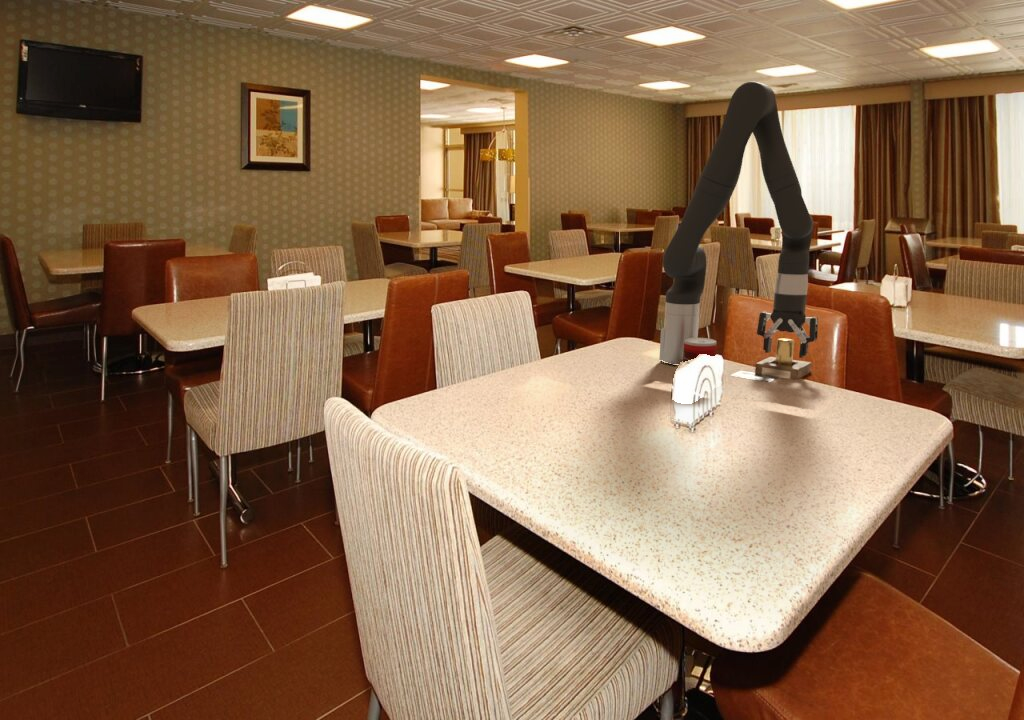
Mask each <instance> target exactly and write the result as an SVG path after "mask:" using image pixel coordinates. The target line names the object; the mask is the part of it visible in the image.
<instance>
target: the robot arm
mask: <svg viewBox="0 0 1024 720" xmlns="http://www.w3.org/2000/svg"><path fill="white" fill-rule="evenodd" d="M777 105H778V104H777V100H776V95H775V91H774V90H773V89H772V88H771V87H770V85H767V84H765V83H762V82H758V81H753V80H752V81H747V82H744V83H742V84H741V85H739V86H738V87H737V88H736V90H735V91H734V92H733V94H732V96H731V97H730V100H729V103H728V106H727V110H726V113H725V115H724V119H723V122H722V126H721V128H720V132H719V134H718V137H717V138H716V140H715V143H714V145H713V147H712V149H711V152H710V154H709V156H708V158H707V161H706V162H705V165H704V168H703V170H702V171H701V174H700V176H699V178H698V180H697V183H696V185H695V188H694V191H693V193H692V195H691V198H690V201H689V203H688V205H687V207H686V210H685V212H684V214H683V217H682V220H681V222H680V224H679V225H678V228H677V229H676V231H675V233H674V235H673V237H672V239H671V240H670V242H669V243H668V246H667V248H666V249H665V252H664V254H663V258H662V268H663V270H664V273H665V274H666V275H667V276H668V277H670V278H671V279H672V278H673V283H672V285H671V287H669V289H668V290H667V291H666V294H665V305H664V308H665V309H664V325H663V326H664V327H663V328H662V327H661V329H660V344H659V359H658V360H663V361H665V362H668V363H671V364H680V362H682V361H683V349H684V340H685V339H688V338H699V337H698V336H699V321H700V320H699V319H700V305H701V297H702V294H703V292H704V288H705V279H706V273H707V254H706V252H705V250H704V249H703V247H702V246H701V245H700V244H701V242H702V239H703V237H704V235H705V234H706V232H707V230H708V229H709V228H710V227H711V226H712V224H713V223H714V222H715V221H716V220H717V219H718V217H719V216H720V215H721V214H722V212H723V211H724V210H725V208H726V207H727V206H728V203H729V202H730V199H731V198H732V195H733V193H734V191H735V189H736V187H737V183H738V182H739V180H740V175H741V172H742V171H741V169H742V165H743V160H744V154H745V150H746V147H747V144H748V142H749V140H750V138H751V136H752V134H753V136H754V138H755V142H756V144H757V148H758V151H759V152H758V153H759V157H760V164H761V171H762V175H763V179H764V182H765V185H766V187H767V191H768V193H769V196H770V198H771V200H772V202H773V205H774V209H775V214H776V216H777V220H778V225H779V226H780V227H779V228H780V229H781V232H782V239H781V240H782V241H781V250H780V253H779V257H778V263H777V264H778V265H777V274H776V277H775V280H776V281H775V284H774V296H773V297H774V298H773V308H772V312H771V313H769V312H767V311H762V312H760V313H759V317H758V323H757V329H756V331H757V332H756V334H757V335H758V336H761V337H762V338H763V347H762V348H763V351H764V353H766V354H770V353H771V350H772V341H773V338H772V337H773V335H774V334H775V333H777V331H779V332H788V333H795V335H796V336H797V337H798V338H799V340H800V341H801V343H800V345H799V353H798V354H799V355H798V357H799V359H800V358H802V359H803V358H805V356H807V355H808V350H809V344H810V343H813V342H816V341H817V340H818V335H819V333H818V332H819V318H818V317H817V316H813V317H810V316H806V307H807V297H808V290H809V288H808V287H809V276H808V275H809V268H810V267H809V266H810V249H811V243H812V239H813V238H812V237H813V231H814V219H813V217H812V214H810V212H809V210H808V207H807V205H806V203H805V200H804V197H803V195H802V187H801V185H800V181H799V178H798V176H797V172H796V170H795V167H794V165H793V161H792V159H791V157H790V154H789V150H788V147H787V145H786V142H785V139H784V138H785V137H784V134H783V131H782V126H781V123H780V122H781V121H780V116H779V111H778V106H777ZM770 319H771V321H772V323H773V324H772V326H770V328H768V330H767V331H766V327H767V322H768V321H769V320H770ZM805 323H807V326H809V335H808V334H807V332H806V330H805V328H804V326H803V325H804V324H805Z"/></svg>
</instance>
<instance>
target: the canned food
mask: <svg viewBox="0 0 1024 720" xmlns="http://www.w3.org/2000/svg"><path fill="white" fill-rule="evenodd" d="M717 345H718V344H717V340H715V339H712V338H707V337H698V338H688V339H685V340H684V349H683V362H685V361H688V360H691V359H694V358H696V357H697V356H698V355H699V354H707V355H710V356H715V355H716V356H717Z"/></svg>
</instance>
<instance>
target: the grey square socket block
mask: <svg viewBox="0 0 1024 720" xmlns="http://www.w3.org/2000/svg"><path fill="white" fill-rule="evenodd" d="M775 361H776V356H769V357H767V358H764V359H762V360H760V361H758V362H756V363H755V369H754V370H755V371H754V373H758V374H764V375H771V376H777V377H779V378H781V379H783V378H784V379H791V380H796V381H797V380H800V379H802V378H803V377H805V376H806V375H808V374H810V373H811V371H812V362H811V361H805V360H798V359H797V360H796V359H793V360H792V366H785V365H778V364H775Z"/></svg>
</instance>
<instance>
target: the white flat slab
mask: <svg viewBox="0 0 1024 720" xmlns="http://www.w3.org/2000/svg"><path fill="white" fill-rule="evenodd" d="M729 377H735V378H739V379H740V378H741V379H747V380H751V381H759V382H765V383H771V382H774V381H775V380H777V379H778V378H780V377H777V376H771V375H764V374H758V373H755V372H752V371H744V370H739V371H737V372H734V373H732V374H730V375H729Z"/></svg>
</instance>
